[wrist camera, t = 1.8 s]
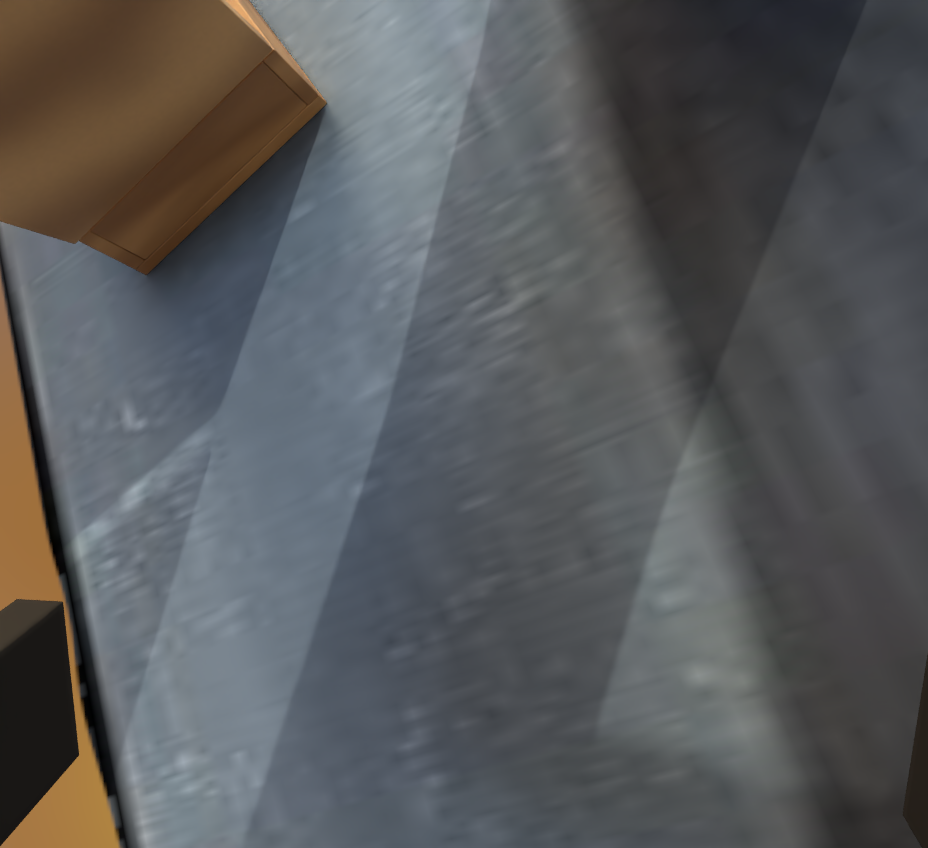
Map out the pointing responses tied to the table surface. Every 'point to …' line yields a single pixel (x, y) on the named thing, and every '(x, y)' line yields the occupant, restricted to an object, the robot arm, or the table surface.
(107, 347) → the table surface
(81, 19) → the lid
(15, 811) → the robot arm
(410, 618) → the table surface
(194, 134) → the box
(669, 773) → the table surface
